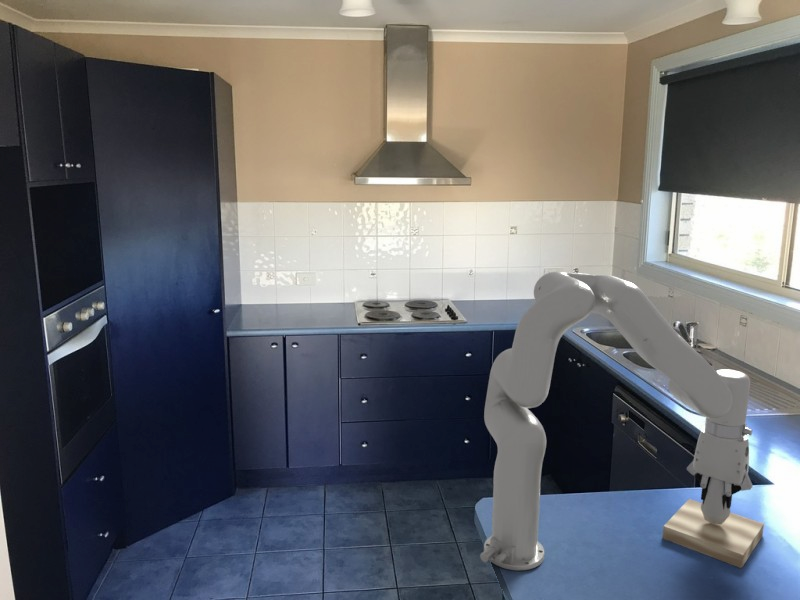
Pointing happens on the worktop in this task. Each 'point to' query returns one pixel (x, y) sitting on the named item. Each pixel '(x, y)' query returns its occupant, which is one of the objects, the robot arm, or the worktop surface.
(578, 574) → the worktop surface
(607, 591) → the worktop surface
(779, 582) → the worktop surface
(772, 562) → the worktop surface
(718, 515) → the salt shaker
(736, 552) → the plinth
